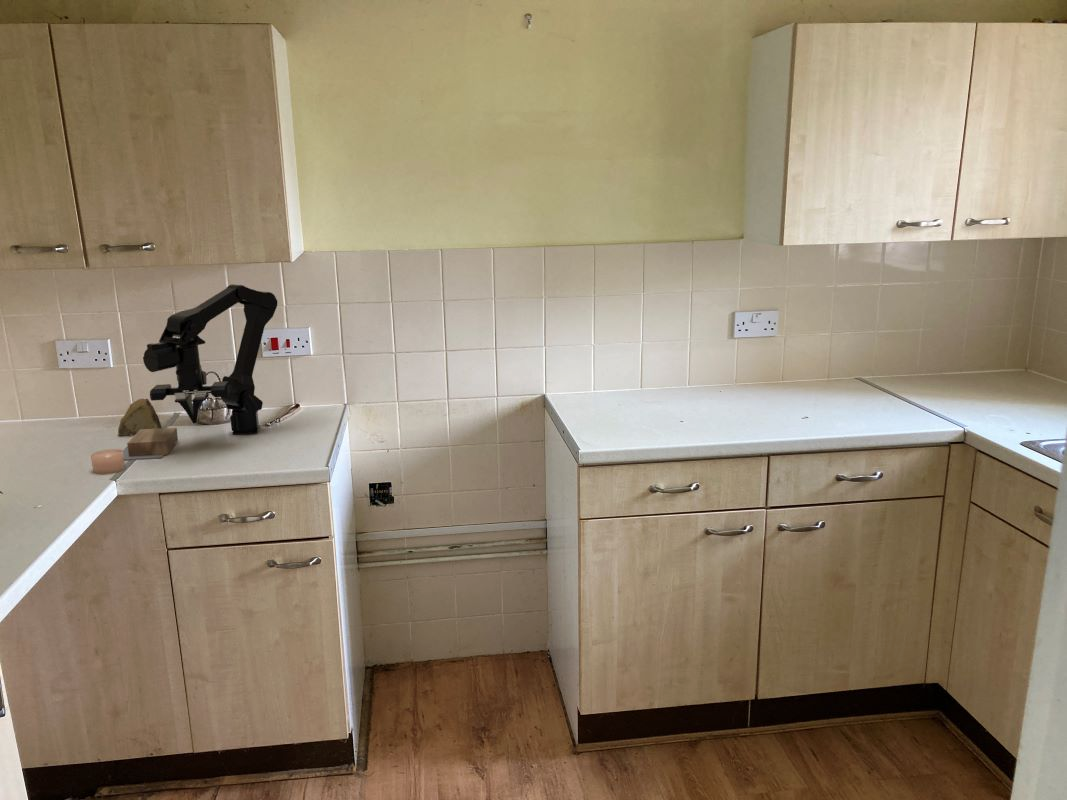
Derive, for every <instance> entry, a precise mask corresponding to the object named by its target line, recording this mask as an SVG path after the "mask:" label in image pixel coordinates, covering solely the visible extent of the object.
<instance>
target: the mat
mask: <svg viewBox="0 0 1067 800" xmlns="http://www.w3.org/2000/svg"><path fill="white" fill-rule="evenodd" d="M122 451H123V454H124V461H137V460H139V461H140V460H153V459H154V460H156V459H163V457H164V456H165V455H166V454H164V455H148V456H131V457H129V453H128V445H127V446H126V447H125V448H124V449H123V450H122Z"/></svg>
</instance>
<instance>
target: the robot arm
mask: <svg viewBox="0 0 1067 800" xmlns="http://www.w3.org/2000/svg"><path fill="white" fill-rule="evenodd" d="M237 304H241V305H243V313H244V317H245V325H244V328H243V333H242V336H241V341H240V345H239V348H238V352H237V356H236V360H235V365H234V368H233V371H232V373H230V375H229V376H225V375H224V376H223V377H222V380H221V381H214V382H213V383H212V384H211V385H207V384H208V383H207V372H206V371H204V370H203V369H202V365H201V359H200V353H199V346H200V345H205V344H206V340H205V339H202V338H201V337H200V336H199V335H200V333H201V332H203V331H204V330H205V329H206V326H207V324H208V323H210V321H211V320H213V319H215V318H216V317H217V316H219V315H221V314H222V313H224V312H225V311H227V310H229V309H230V308H232V307H233V306H235V305H237ZM277 307H278V299H277V297H276V295H275V293H273V292H270V291H260V290H256V289H252V288H249V287H247V286H245V285H243V284H232V283H231V284H230V285H228V286H227V287H226V288H224V289H223V290H222V291H220V292H218V293H216V294H215V295H214V296H212V297H210V298H208V299H207V300H205V301H204V302H202V303H200V304H198V305H197V306H195V307H193V308H189V309H185V310H182V311H178V312H176V313H173V314H172V315H170V316H169V317H168V318H167V319H166V326H165V328H164V330H163V331H162V334H161V336H160V339H159V340H158V343H157V342H156V343H147V344H146V349H145V350H144V353H143V357H142V360H143V364H144V367H145V368H146V369H147V370H148V371H149V372H151V373H156V372H159V371H165V370H168V369H173V368H175V369H176V370H175V375H176V381H177V384H178V386H177V387H172V384H170V383H168V384H167V383H165V384H155V386H153V388H151V390H150V391H149V399H150V401H163V400H165V398H167V396H174V398H175V399H174V402H175V403H177V404H178V403H179V405H180V406H181V407H182V409H183V410H184V411H185V413H186V414H187V416H188V417H189V418H190V421H191V422H192V424H197V423H198V421H199V416H200V412H201V408H202V405H203V402H205V401H206V400H207V399H208V398H209V397H210V395H211V396H213V397H214V398H221V401H222V402H223V403H224V405H225V407H226V409H228V410H231V415H230V417H229V418H230V427H231V429H230V430H231V432H232V435H246V434H247V435H248V434H257V433H259V430H260V428H261V425H260V424H259V412H258V411H261V410H262V408H263V403H264V402H263V401H262V400H261V399H260V398H259V397H257V396H256V395H255V389H256V387H255V381H254V379H253V373H254V370H255V366H256V363H257V357H258V354H259V350H260V345H261V343H262V339H263V333H264V330H265V327H266V325H267V324H268V323H269V321H270V320H271V319H272V318H273V317H274V316H275V312H276V310H277ZM192 395H194V397H193V396H192ZM192 398H193V399H192Z"/></svg>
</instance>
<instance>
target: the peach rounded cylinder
mask: <svg viewBox="0 0 1067 800" xmlns="http://www.w3.org/2000/svg"><path fill="white" fill-rule="evenodd" d="M125 461H126V460H124V454H123V450H122V449H119V448H113V449H112V448H109V449H103V450H99V451H96V452H93V453H92V454H91V455H90V462H91V467H92V473H94V474H96V475H97V474H98V475H107V474H108V475H109V474H115V473H118V472H121V471H123V470H125V469H126V462H125Z"/></svg>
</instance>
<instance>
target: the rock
mask: <svg viewBox="0 0 1067 800" xmlns="http://www.w3.org/2000/svg"><path fill="white" fill-rule="evenodd" d="M158 428H163V427H162V423H161V421H160V418H159V415H158V414H157V411H156V409H155V408H154V406H153V405H152V403H151V402H150V401H149V399H148V398H139V399H136V401H134V402H132V403H130V404H129V407H128V408H127V410H126V412H125V414H124V415H123V416H122V417H121V419H120V421H119V425H118V428H117V435H118V437H120V436H122V437H123V436H131V435H133V436H134V435H135V434H136V433H137V432H138V431H139V430H140V429H158Z"/></svg>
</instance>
